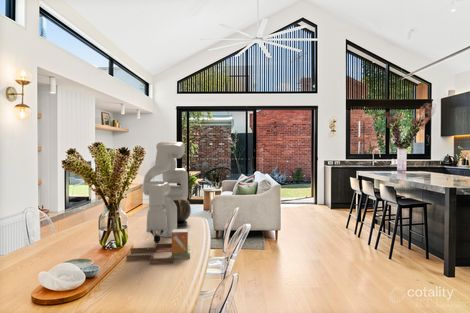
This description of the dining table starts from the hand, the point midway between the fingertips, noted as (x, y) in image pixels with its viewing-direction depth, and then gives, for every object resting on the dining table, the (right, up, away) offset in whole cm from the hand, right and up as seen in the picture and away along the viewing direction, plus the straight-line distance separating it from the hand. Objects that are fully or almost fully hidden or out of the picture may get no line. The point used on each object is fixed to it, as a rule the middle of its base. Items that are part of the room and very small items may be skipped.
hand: (157, 242), depth 174 cm
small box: (+12, -7, -1) cm, 14 cm away
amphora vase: (-2, -5, +69) cm, 70 cm away
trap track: (+1, -6, -1) cm, 7 cm away
